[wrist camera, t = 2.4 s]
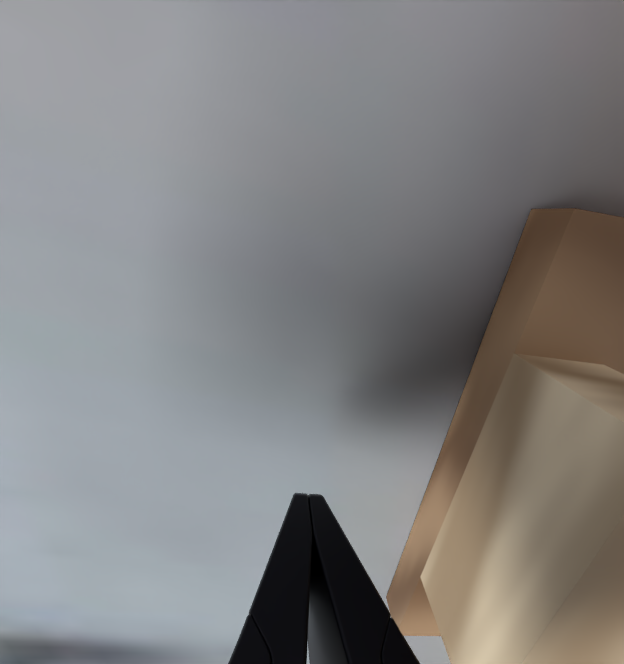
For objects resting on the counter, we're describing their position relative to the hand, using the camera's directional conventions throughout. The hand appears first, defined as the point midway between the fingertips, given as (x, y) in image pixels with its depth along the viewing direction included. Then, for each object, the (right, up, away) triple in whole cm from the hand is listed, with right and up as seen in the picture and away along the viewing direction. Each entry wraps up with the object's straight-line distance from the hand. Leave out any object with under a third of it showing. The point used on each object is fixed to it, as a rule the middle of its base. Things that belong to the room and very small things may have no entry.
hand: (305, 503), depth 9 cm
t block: (+10, -1, +2) cm, 11 cm away
